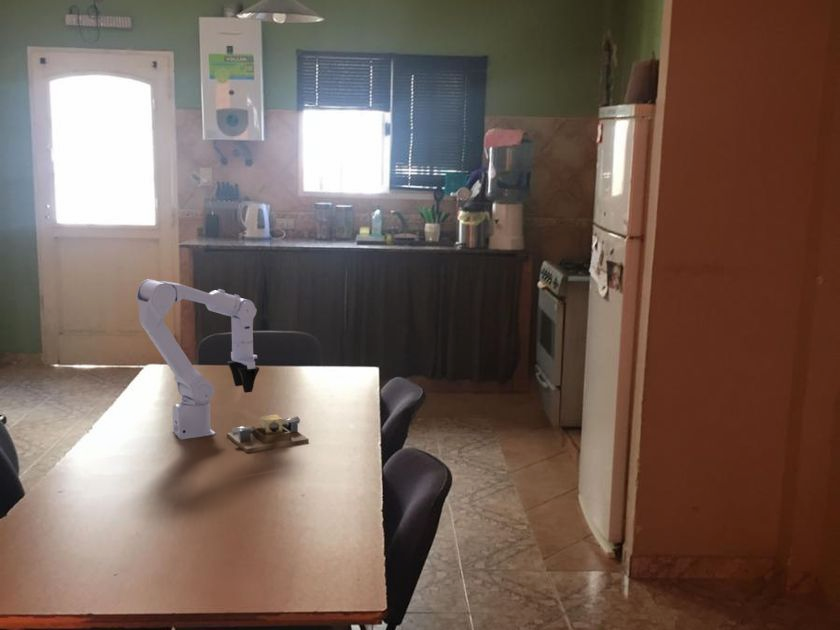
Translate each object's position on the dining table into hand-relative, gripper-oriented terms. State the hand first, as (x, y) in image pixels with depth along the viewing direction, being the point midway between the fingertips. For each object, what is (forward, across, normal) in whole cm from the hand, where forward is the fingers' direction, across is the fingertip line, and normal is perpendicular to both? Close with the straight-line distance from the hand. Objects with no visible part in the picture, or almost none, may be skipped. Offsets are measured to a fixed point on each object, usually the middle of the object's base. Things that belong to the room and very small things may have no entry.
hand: (243, 388), depth 243 cm
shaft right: (+9, -16, -8) cm, 20 cm away
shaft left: (+9, -18, +6) cm, 21 cm away
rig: (+10, -17, 0) cm, 20 cm away
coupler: (+9, -19, -1) cm, 21 cm away
